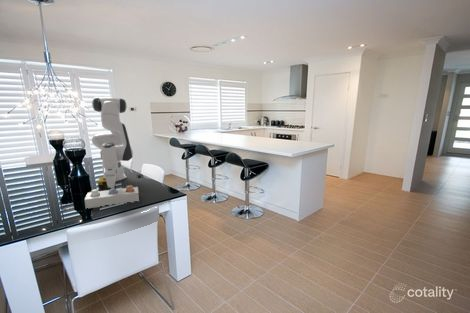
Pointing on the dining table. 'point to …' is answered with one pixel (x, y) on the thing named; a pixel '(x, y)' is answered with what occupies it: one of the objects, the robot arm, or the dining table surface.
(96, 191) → the key white
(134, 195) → the console
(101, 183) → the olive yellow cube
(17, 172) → the dining table surface
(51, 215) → the dining table surface
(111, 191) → the key blue
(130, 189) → the key rust
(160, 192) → the dining table surface
